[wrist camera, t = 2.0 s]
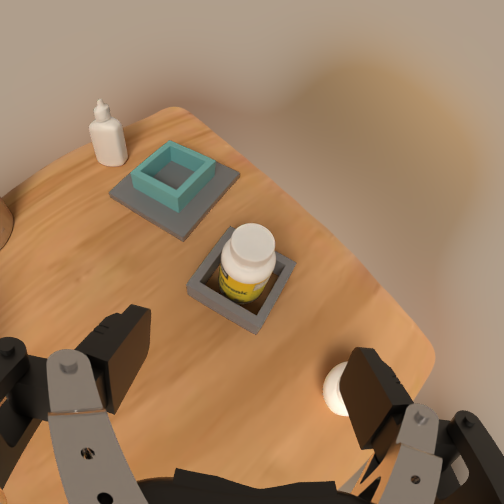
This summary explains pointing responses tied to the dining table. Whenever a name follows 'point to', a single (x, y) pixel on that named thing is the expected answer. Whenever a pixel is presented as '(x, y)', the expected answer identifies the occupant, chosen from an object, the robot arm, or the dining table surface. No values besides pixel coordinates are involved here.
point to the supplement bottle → (246, 263)
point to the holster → (223, 304)
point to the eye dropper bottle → (107, 137)
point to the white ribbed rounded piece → (334, 390)
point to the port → (175, 188)
